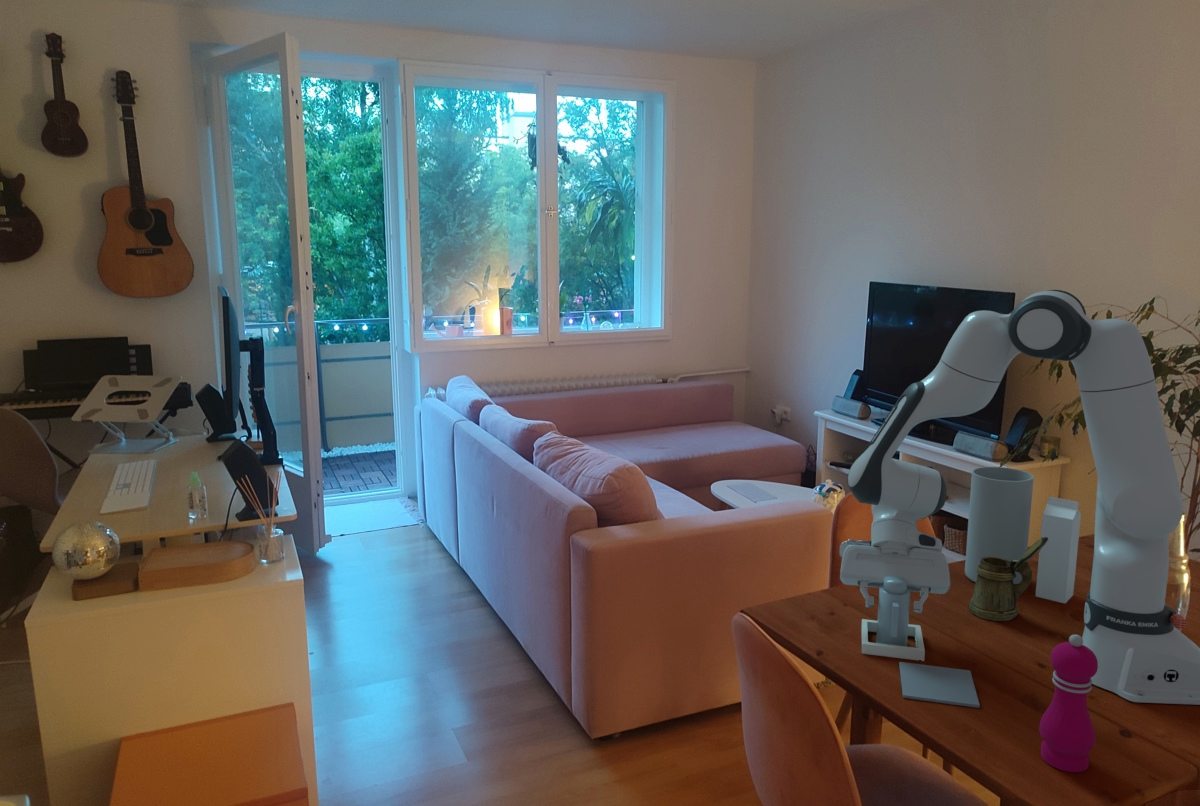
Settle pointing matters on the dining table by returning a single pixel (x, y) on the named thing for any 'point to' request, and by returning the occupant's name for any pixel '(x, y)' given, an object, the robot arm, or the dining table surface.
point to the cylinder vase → (998, 516)
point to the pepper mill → (1069, 708)
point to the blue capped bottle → (893, 612)
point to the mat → (938, 684)
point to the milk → (1058, 550)
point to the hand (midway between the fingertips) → (893, 609)
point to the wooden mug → (1001, 585)
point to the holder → (892, 650)
